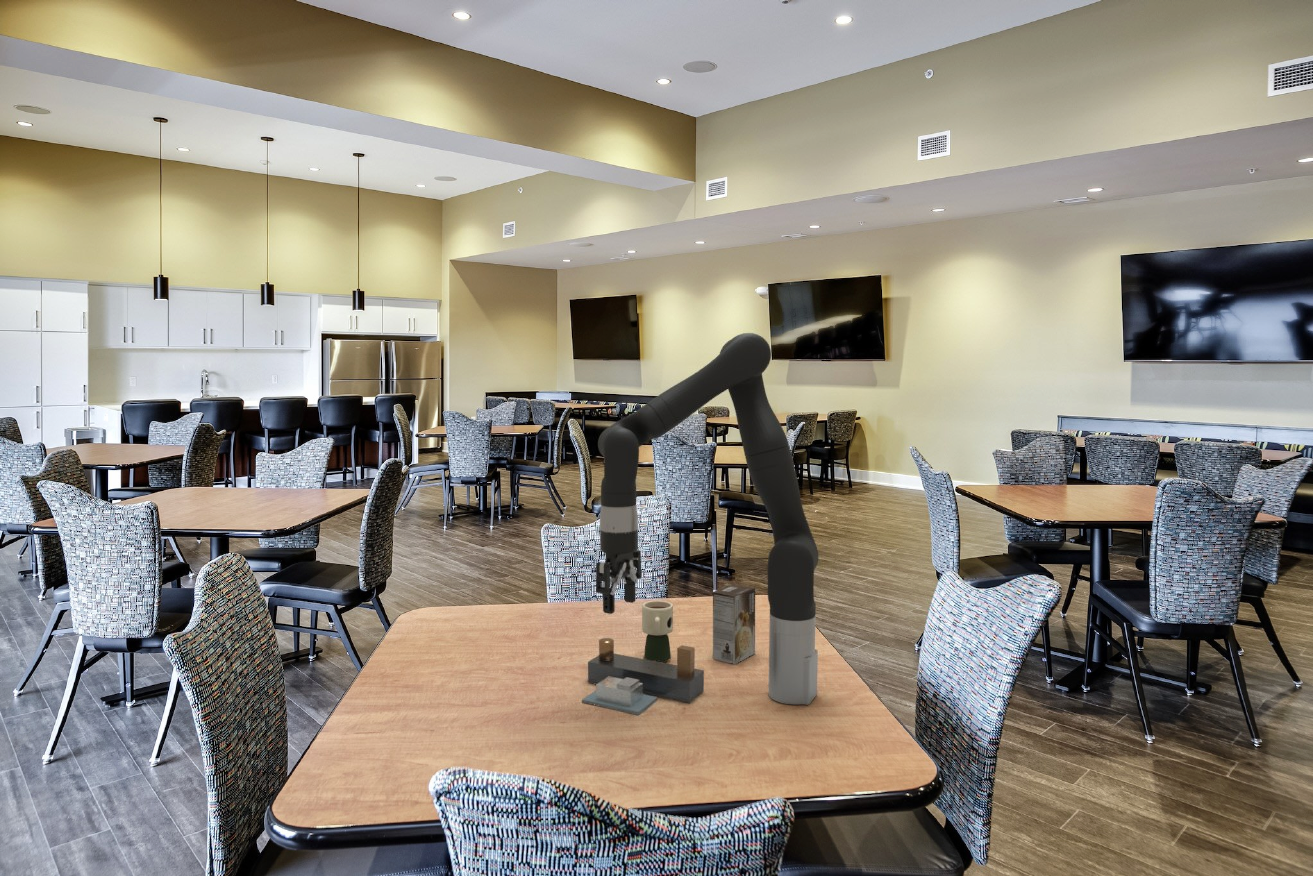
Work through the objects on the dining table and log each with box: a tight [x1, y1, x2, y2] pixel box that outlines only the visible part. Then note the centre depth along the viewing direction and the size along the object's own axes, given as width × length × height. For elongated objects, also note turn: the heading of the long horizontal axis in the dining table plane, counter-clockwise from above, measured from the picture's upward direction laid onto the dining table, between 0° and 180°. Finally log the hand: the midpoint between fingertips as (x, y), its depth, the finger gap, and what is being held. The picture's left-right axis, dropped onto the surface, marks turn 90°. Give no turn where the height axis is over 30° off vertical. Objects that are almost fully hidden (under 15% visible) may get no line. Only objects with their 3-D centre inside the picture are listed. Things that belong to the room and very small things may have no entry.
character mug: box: [641, 600, 674, 662], centre depth 186 cm, size 11×7×13 cm, turn 179°
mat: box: [581, 689, 658, 716], centre depth 163 cm, size 13×8×1 cm, turn 63°
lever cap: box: [595, 676, 643, 707], centre depth 163 cm, size 8×5×4 cm, turn 63°
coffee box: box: [712, 583, 756, 665], centre depth 188 cm, size 9×6×16 cm
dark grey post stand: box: [587, 637, 705, 704], centre depth 170 cm, size 24×7×10 cm, turn 63°
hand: (619, 607), depth 161 cm, fingers open, 8 cm apart
